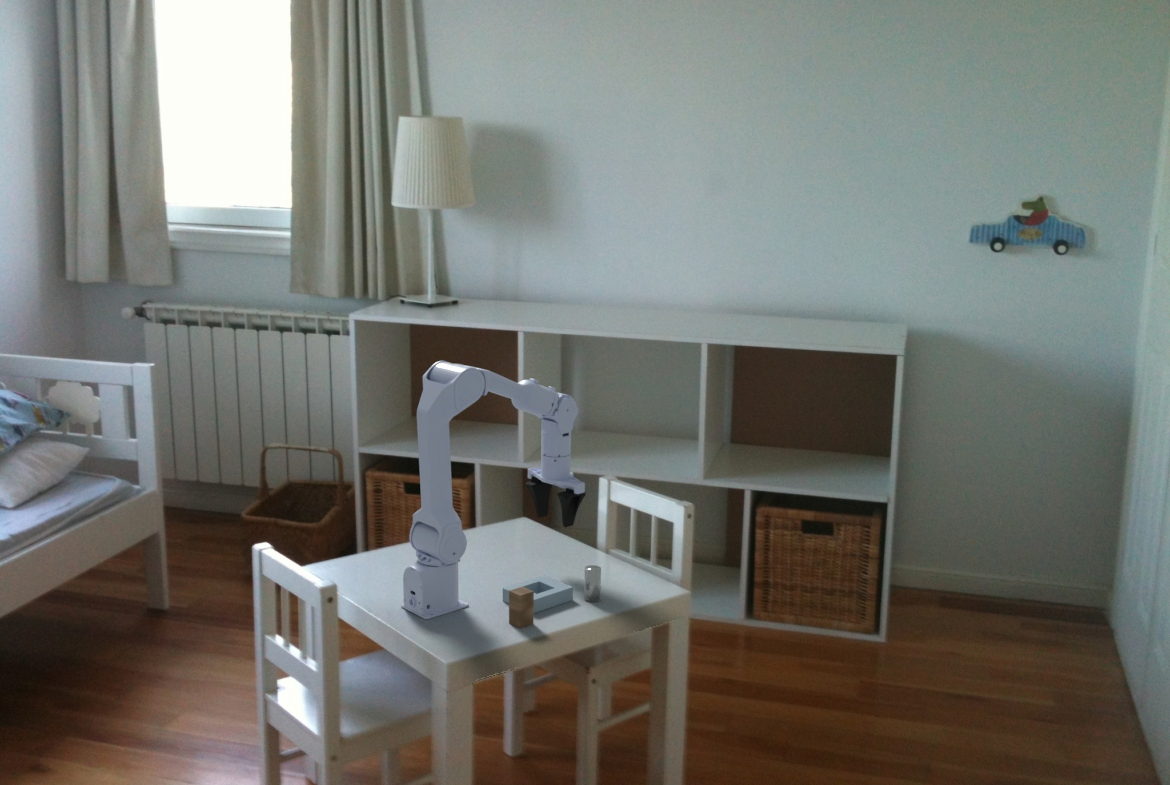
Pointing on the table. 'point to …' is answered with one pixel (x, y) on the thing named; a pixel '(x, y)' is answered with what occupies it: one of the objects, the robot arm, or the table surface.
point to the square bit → (521, 607)
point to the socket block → (543, 592)
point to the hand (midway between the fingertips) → (555, 521)
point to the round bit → (592, 583)
